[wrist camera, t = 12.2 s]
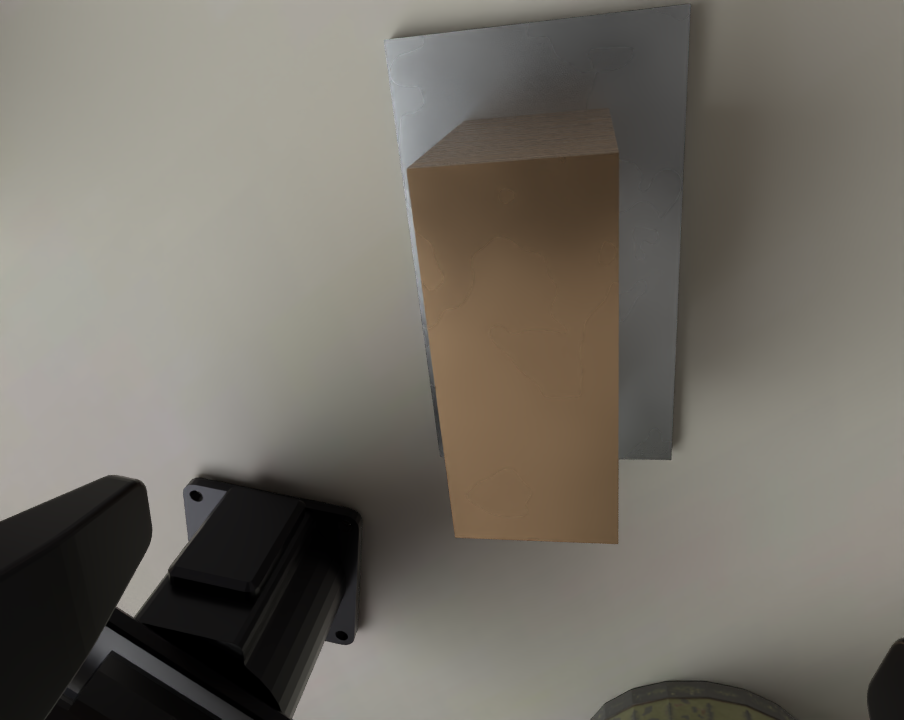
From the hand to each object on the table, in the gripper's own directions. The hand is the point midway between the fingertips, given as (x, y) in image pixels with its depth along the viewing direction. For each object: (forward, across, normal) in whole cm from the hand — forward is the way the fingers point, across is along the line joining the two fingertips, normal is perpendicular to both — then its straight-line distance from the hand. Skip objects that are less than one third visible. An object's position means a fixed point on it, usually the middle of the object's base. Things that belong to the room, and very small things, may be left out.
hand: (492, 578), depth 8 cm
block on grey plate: (+12, 0, 0) cm, 12 cm away
